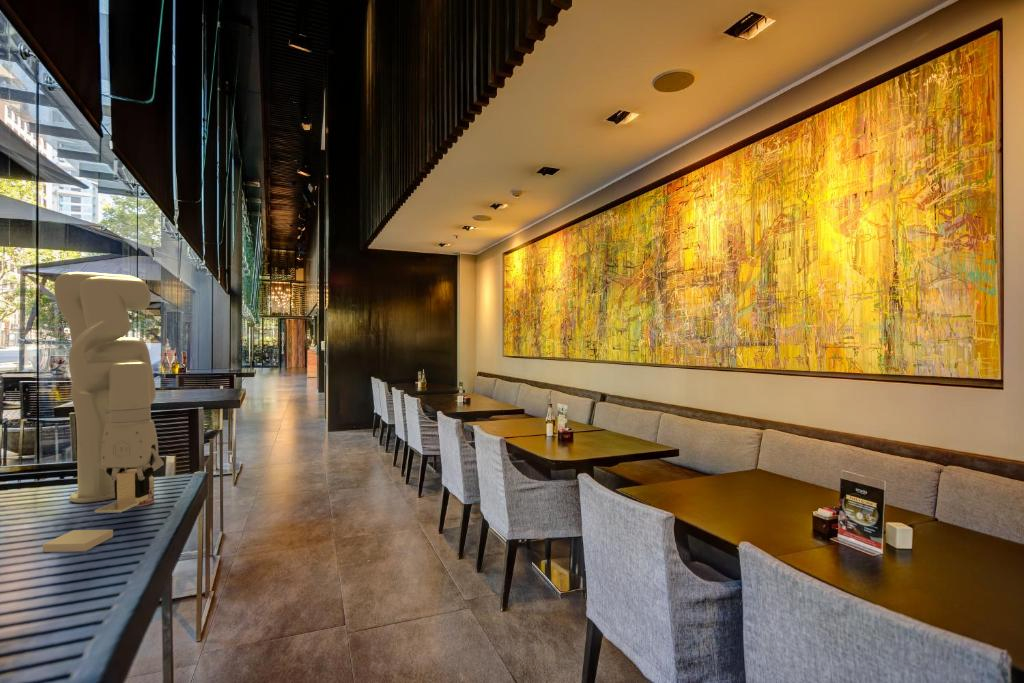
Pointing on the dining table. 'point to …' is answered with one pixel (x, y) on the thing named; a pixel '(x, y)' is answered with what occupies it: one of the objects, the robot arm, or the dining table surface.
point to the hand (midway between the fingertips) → (132, 495)
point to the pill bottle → (150, 495)
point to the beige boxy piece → (124, 493)
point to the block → (77, 540)
